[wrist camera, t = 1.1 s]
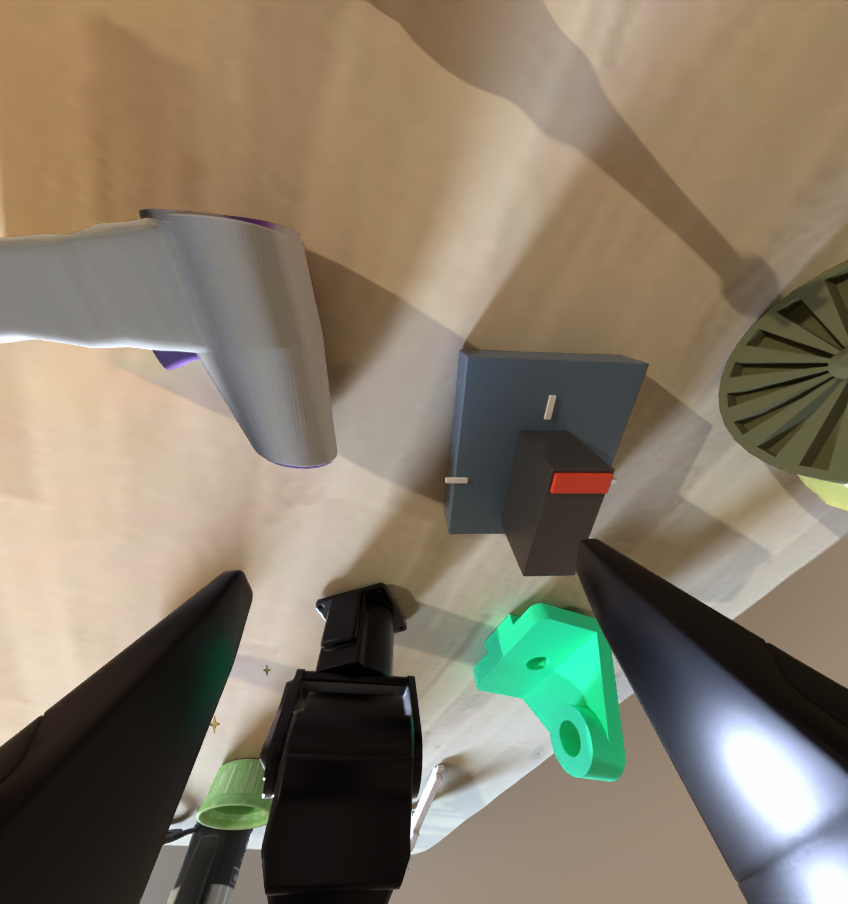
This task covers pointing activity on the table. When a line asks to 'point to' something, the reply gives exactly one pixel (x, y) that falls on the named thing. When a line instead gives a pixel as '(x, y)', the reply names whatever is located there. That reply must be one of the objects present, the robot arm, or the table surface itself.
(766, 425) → the cannon
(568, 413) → the base
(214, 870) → the milk frother
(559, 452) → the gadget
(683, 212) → the table surface
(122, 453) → the table surface
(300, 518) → the table surface
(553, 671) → the camera mount
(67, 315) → the infrared thermometer
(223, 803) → the ramekin
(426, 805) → the caliper
